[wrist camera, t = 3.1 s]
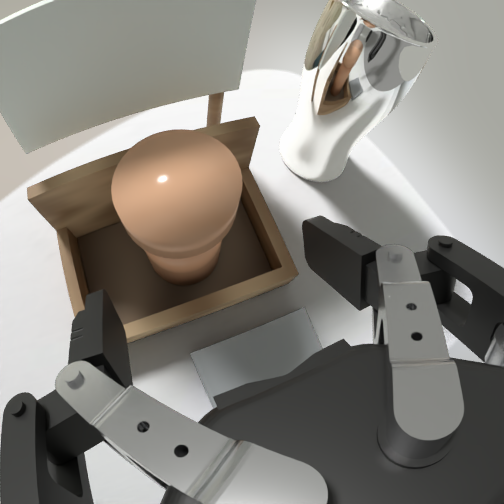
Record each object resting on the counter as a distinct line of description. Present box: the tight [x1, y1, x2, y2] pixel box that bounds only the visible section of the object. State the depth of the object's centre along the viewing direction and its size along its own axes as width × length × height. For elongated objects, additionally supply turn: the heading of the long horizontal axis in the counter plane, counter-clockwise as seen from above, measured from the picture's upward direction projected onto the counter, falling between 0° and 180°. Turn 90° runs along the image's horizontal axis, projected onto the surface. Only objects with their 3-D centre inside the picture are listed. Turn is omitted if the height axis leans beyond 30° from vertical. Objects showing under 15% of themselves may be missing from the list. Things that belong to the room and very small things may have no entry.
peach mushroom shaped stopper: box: [111, 130, 243, 286], centre depth 17 cm, size 6×6×9 cm
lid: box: [0, 0, 256, 154], centre depth 13 cm, size 14×1×9 cm, turn 113°
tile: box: [190, 307, 323, 408], centre depth 20 cm, size 8×5×1 cm, turn 113°
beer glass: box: [279, 0, 438, 182], centre depth 19 cm, size 7×7×15 cm
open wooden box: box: [27, 92, 299, 343], centre depth 17 cm, size 14×13×12 cm
